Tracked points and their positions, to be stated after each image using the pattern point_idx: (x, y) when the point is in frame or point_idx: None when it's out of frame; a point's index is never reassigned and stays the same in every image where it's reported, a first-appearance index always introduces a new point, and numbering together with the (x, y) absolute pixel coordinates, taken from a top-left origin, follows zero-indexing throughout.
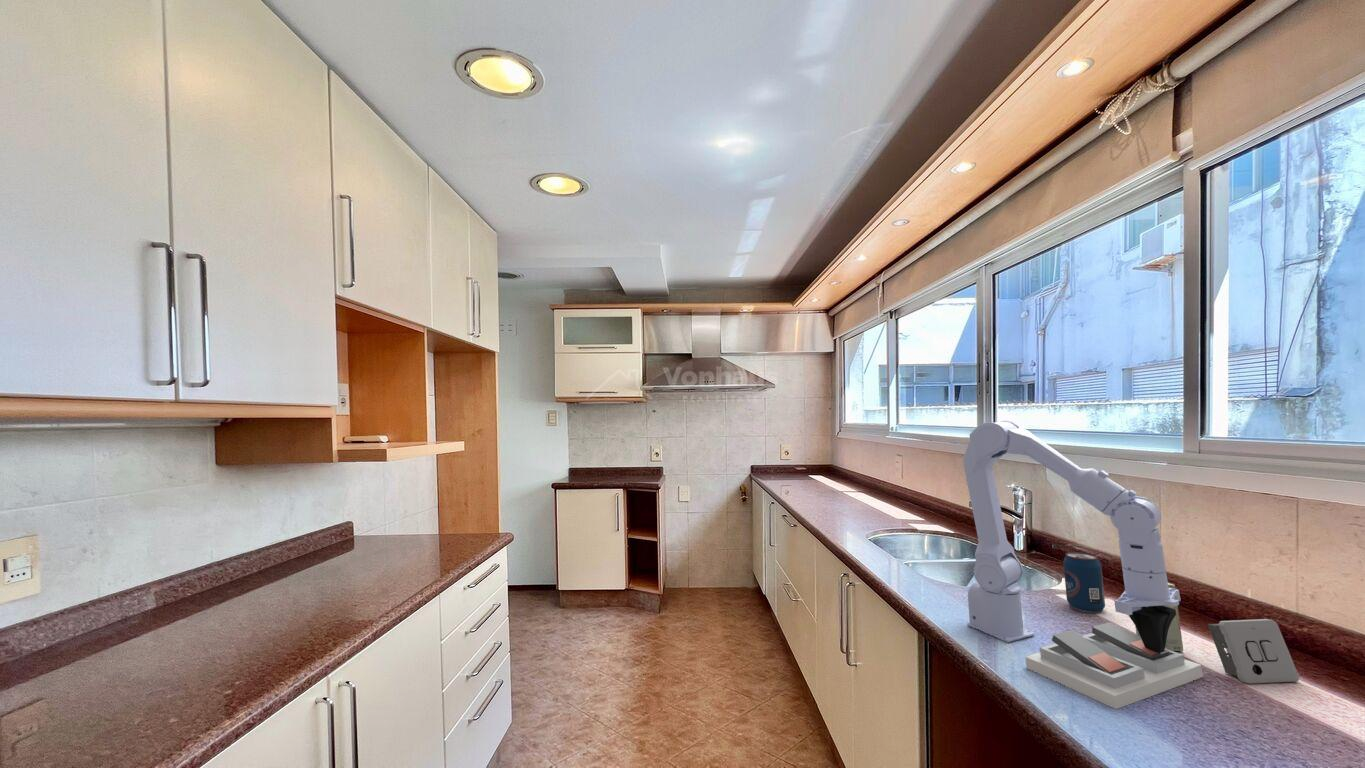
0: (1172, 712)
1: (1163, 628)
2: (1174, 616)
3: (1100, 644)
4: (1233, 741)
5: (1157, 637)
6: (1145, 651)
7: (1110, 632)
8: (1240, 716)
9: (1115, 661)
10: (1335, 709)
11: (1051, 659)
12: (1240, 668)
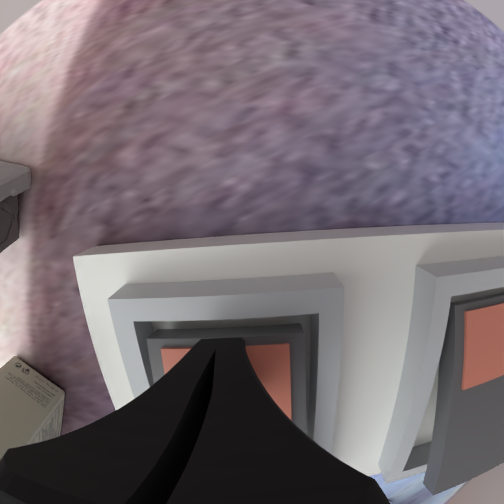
0: (450, 144)
1: (186, 419)
2: (30, 447)
3: None
4: (439, 18)
5: (263, 386)
6: (291, 369)
7: None
8: (285, 41)
9: (474, 340)
10: (18, 36)
11: None
12: (5, 181)
